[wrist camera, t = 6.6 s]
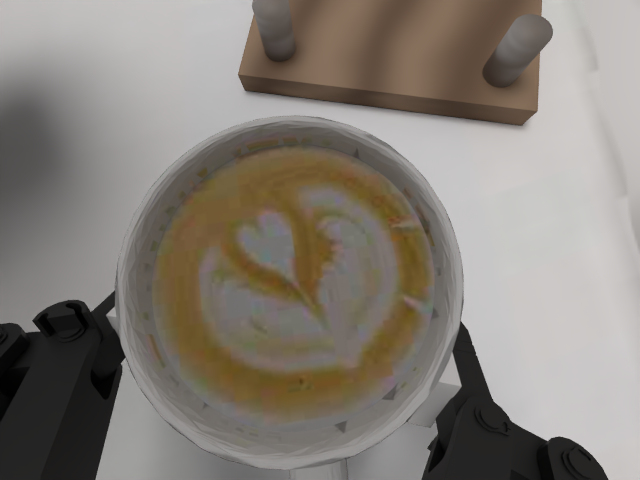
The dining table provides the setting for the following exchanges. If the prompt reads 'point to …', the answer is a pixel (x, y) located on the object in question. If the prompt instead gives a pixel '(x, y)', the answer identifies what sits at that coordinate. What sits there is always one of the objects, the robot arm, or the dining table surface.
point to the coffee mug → (289, 294)
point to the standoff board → (401, 54)
